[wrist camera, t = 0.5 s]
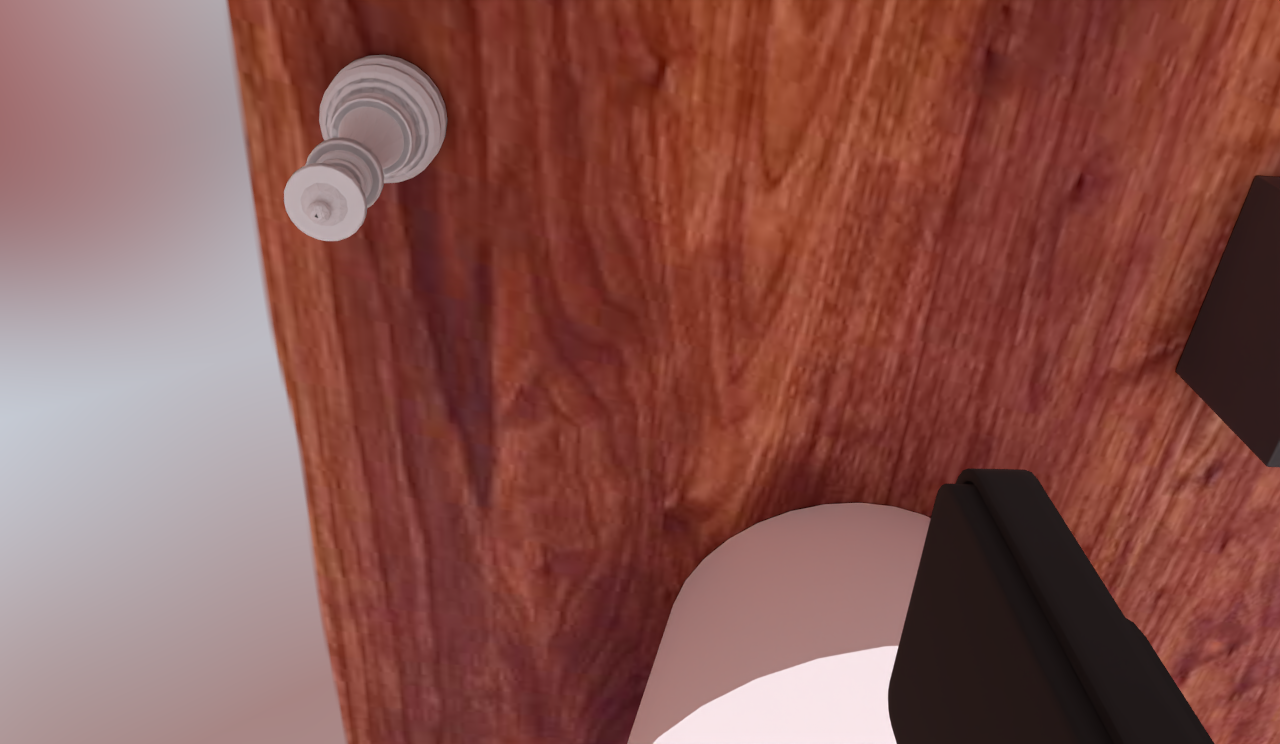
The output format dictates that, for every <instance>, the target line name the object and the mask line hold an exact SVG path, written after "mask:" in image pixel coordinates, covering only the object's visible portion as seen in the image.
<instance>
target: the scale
mask: <svg viewBox="0 0 1280 744" xmlns="http://www.w3.org/2000/svg"><path fill="white" fill-rule="evenodd" d="M1176 373H1177V374H1178V375H1179V376H1180V377H1181V378H1182V379H1183V380H1184V381H1185V382H1186V383H1187V384H1188V385H1189V386H1190V387H1191V388H1192V389H1193V390H1194V391H1195V392H1196V393H1197V394H1198V395H1199V396H1200V397H1201V398H1202V400H1203V401H1204V402H1205V403H1206V404H1207V405H1208V406H1209V407H1210V408H1211V409H1212V410H1213V411H1214V412H1215V413H1216V414H1217V415H1218V416H1219V417H1220V418H1221V419H1222V420H1223V421H1224V422H1225V423H1226V424H1227V425H1228V427H1229V428H1230V429H1231V430H1232V431H1233V432H1234V433H1235V434H1236V435H1237V436H1238V437H1239V438H1240V439H1241V440H1242V441H1243V442H1244V443H1245V444H1246V445H1247V446H1248V447H1249V448H1250V449H1251V450H1252V451H1253V452H1254V453H1255V455H1256V456H1257V457H1258V458H1259V459H1260V460H1261V461H1262V462H1263V463H1264V464H1265V465H1266V466H1268V467H1280V177H1269V176H1256V177H1255V179H1254V182H1253V184H1252V186H1251V189H1250V191H1249V194H1248V196H1247V199H1246V201H1245V203H1244V206H1243V208H1242V211H1241V213H1240V216H1239V218H1238V220H1237V223H1236V225H1235V228H1234V230H1233V233H1232V235H1231V237H1230V240H1229V242H1228V245H1227V247H1226V250H1225V252H1224V254H1223V257H1222V259H1221V262H1220V264H1219V267H1218V269H1217V271H1216V274H1215V276H1214V279H1213V281H1212V284H1211V286H1210V288H1209V291H1208V293H1207V296H1206V298H1205V301H1204V303H1203V306H1202V308H1201V310H1200V313H1199V315H1198V318H1197V320H1196V323H1195V325H1194V327H1193V330H1192V332H1191V335H1190V337H1189V340H1188V342H1187V344H1186V347H1185V349H1184V352H1183V354H1182V357H1181V359H1180V361H1179V364H1178V366H1177V369H1176Z"/></svg>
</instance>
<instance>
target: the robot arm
mask: <svg viewBox="0 0 1280 744" xmlns="http://www.w3.org/2000/svg"><path fill="white" fill-rule="evenodd" d="M888 710H889V717H890V722H891V726H892V730H893V733H894V736H895V739H896V743H897V744H1214V742H1213V741H1212V739H1211V738H1210V736H1209V735H1208V733H1207V732H1206V730H1205V728H1204V727H1203V725H1202V724H1201V722H1200V721H1199V719H1198V718H1197V716H1196V715H1195V713H1194V711H1193V710H1192V708H1191V707H1190V705H1189V704H1188V702H1187V701H1186V699H1185V697H1184V696H1183V694H1182V693H1181V691H1180V690H1179V688H1178V687H1177V685H1176V683H1175V682H1174V680H1173V679H1172V677H1171V676H1170V674H1169V673H1168V671H1167V669H1166V668H1165V666H1164V665H1163V663H1162V662H1161V660H1160V659H1159V657H1158V655H1157V654H1156V652H1155V651H1154V649H1153V648H1152V646H1151V645H1150V643H1149V641H1148V640H1147V638H1146V637H1145V636H1144V634H1143V633H1142V632H1141V631H1140V630H1139V629H1138V627H1137V626H1136V625H1135V624H1134V623H1133V622H1131V621H1130V620H1128V619H1126V618H1125V617H1124V615H1123V613H1122V612H1121V610H1120V609H1119V607H1118V605H1117V604H1116V602H1115V601H1114V599H1113V598H1112V596H1111V594H1110V593H1109V591H1108V590H1107V588H1106V587H1105V585H1104V583H1103V582H1102V580H1101V579H1100V577H1099V575H1098V574H1097V572H1096V571H1095V569H1094V568H1093V566H1092V564H1091V563H1090V561H1089V560H1088V558H1087V557H1086V555H1085V553H1084V552H1083V550H1082V549H1081V547H1080V545H1079V544H1078V542H1077V541H1076V539H1075V538H1074V536H1073V534H1072V533H1071V531H1070V530H1069V528H1068V527H1067V525H1066V523H1065V522H1064V520H1063V519H1062V517H1061V515H1060V514H1059V512H1058V511H1057V509H1056V508H1055V506H1054V504H1053V503H1052V501H1051V500H1050V498H1049V497H1048V495H1047V493H1046V492H1045V490H1044V489H1043V487H1042V485H1041V484H1040V482H1039V481H1038V479H1037V478H1036V477H1035V476H1034V475H1033V474H1032V472H1029V471H1027V470H1008V469H966V470H964V471H962V473H961V474H960V475H959V477H958V479H957V482H956V484H944V485H942V486H941V487H940V489H939V491H938V493H937V496H936V500H935V504H934V508H933V512H932V516H931V520H930V523H929V527H928V531H927V535H926V539H925V543H924V547H923V551H922V555H921V559H920V563H919V567H918V571H917V575H916V579H915V583H914V587H913V591H912V595H911V599H910V603H909V607H908V611H907V615H906V619H905V623H904V627H903V631H902V635H901V638H900V642H899V646H898V650H897V654H896V658H895V662H894V666H893V670H892V674H891V678H890V682H889V688H888Z"/></svg>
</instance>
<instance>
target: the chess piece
mask: <svg viewBox="0 0 1280 744" xmlns="http://www.w3.org/2000/svg"><path fill="white" fill-rule="evenodd" d="M319 123H320V127H321V131H322V136H323V138H324V140H325V141H323V142H322V143H320V144H319V145H317V146H316V147H315V148H314V150H313V151H312V152H311V154H310V155H309V156H308V159H307V162H306V165H305V166H303V167H301V168H300V169H298V170H297V171H296V172H294V173H293V175H292V176H291V177H290V179H289V180H288V182H287V185H286V187H285V190H284V204H285V208H286V212H287V213H288V215H289V217H290V219H291V221H292V222H293V223H294V224H295V225H296V226H297V227H298V228H299V229H300V230H301V231H303V232H304V233H305V234H307V235H309V236H311V237H313V238H316V239H319V240H324V241H339V240H342V239H345V238H348V237H349V236H351V235H352V234H354V233H355V232H356V231H357V230H358V229H359V228H360V227H361V225H362V224H363V222H364V220H365V217H366V214H367V208H368V207H370V206H371V205H373V204H374V202H375V201H376V200H377V199H378V197H379V196H380V194H381V191H382V189H383V186H384V183H398V182H402V181H405V180H408V179H411V178H413V177H415V176H416V175H418V174H419V173H421V172H422V171H423V170H425V169H426V167H427V166H428V165H429V164H430V162H431V161H432V160H433V159H434V157H435V156H436V155H437V153H438V152H439V150H440V148H441V145H442V143H443V141H444V138H445V136H446V128H447V114H446V107H445V103H444V101H443V99H442V96H441V94H440V92H439V89H438V88H437V87H436V85H435V84H434V83H433V81H432V80H431V79H430V77H429V76H428V75H427V74H425V73H424V72H423V71H422V70H420V69H419V68H418V67H417V66H416V65H414V64H412V63H409V62H407V61H405V60H403V59H401V58H397V57H393V56H388V55H372V56H366V57H363V58H361V59H358V60H355V61H353V62H351V63H350V64H349V65H347V66H346V67H345V68H343V69H342V70H341V71H340V72H339V73H338V74H337V75H336V77H335V78H334V79H333V81H332V82H331V84H330V85H329V87H328V88H327V90H326V91H325V93H324V96H323V99H322V102H321V105H320V117H319Z"/></svg>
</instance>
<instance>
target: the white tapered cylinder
mask: <svg viewBox="0 0 1280 744" xmlns="http://www.w3.org/2000/svg"><path fill="white" fill-rule="evenodd" d="M930 520H931V518H929V517H927V516H925V515H922V514H919V513H915V512H912V511H908V510H905V509H901V508H898V507H894V506H886V505H877V504H868V503H842V504H824V505H819V506H814V507H809V508H804V509H799V510H794V511H789V512H787V513H784V514H781V515H778V516H776V517H773V518H770V519H767V520H764V521H762V522H759V523H757V524H755V525H753V526H751V527H749V528H748V529H746V530H744V531H742V532H740V533H739V534H737V535H735V536H733V537H731V538H730V539H728V540H727V541H725V542H724V543H723V544H722V545H720V546H719V547H718V548H717V549H715V550H714V551H713V552H712V553H711V554H709V555H708V556H707V557H706V558H704V559H703V561H702V562H701V563H700V564H699V565H698V566H697V568H696V569H695V570H694V571H693V572H692V574H691V575H690V576H689V577H688V578H687V579H686V581H685V583H684V585H683V587H682V588H681V590H680V592H679V594H678V596H677V598H676V600H675V602H674V604H673V607H672V610H671V613H670V616H669V619H668V622H667V625H666V628H665V631H664V634H663V637H662V640H661V643H660V646H659V649H658V652H657V655H656V658H655V661H654V664H653V667H652V670H651V673H650V676H649V679H648V682H647V685H646V688H645V691H644V694H643V697H642V700H641V703H640V706H639V709H638V712H637V715H636V718H635V721H634V725H633V728H632V731H631V734H630V737H629V740H628V743H627V744H897V743H896V739H895V736H894V733H893V730H892V726H891V722H890V717H889V710H888V688H889V682H890V678H891V674H892V670H893V666H894V662H895V658H896V654H897V650H898V646H899V642H900V638H901V635H902V631H903V627H904V623H905V619H906V615H907V611H908V607H909V603H910V599H911V595H912V591H913V587H914V583H915V579H916V575H917V571H918V567H919V563H920V559H921V555H922V551H923V547H924V543H925V539H926V535H927V531H928V527H929V523H930Z"/></svg>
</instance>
